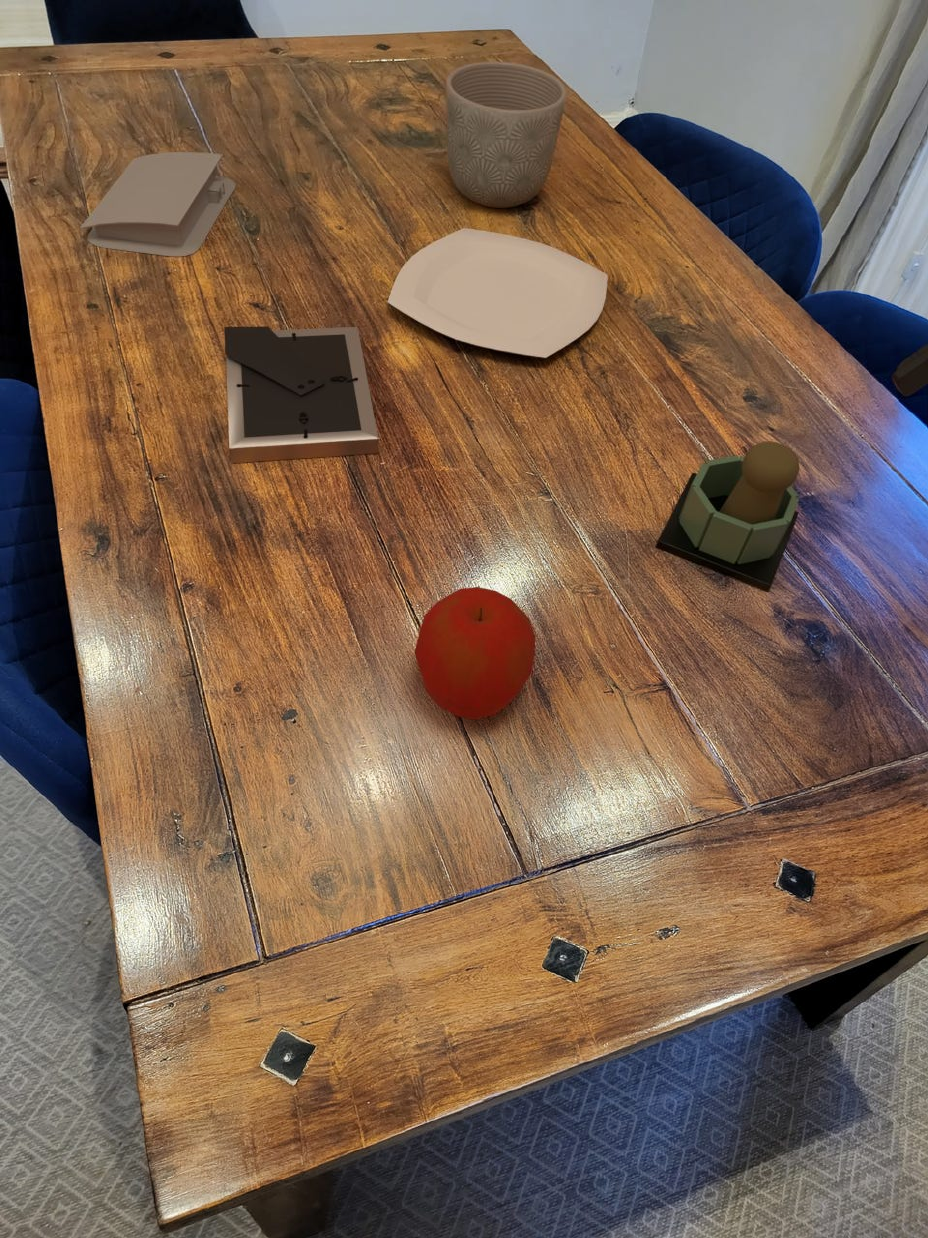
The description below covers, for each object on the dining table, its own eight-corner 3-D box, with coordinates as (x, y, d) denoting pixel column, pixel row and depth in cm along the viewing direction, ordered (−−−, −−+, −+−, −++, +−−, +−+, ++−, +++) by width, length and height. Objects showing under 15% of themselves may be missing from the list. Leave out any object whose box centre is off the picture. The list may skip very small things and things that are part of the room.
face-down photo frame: (227, 347, 106) (231, 463, 93) (224, 326, 103) (228, 442, 91) (358, 341, 108) (378, 453, 96) (357, 321, 106) (378, 433, 94)
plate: (454, 227, 127) (455, 214, 125) (628, 284, 121) (631, 270, 119) (360, 317, 111) (359, 304, 110) (554, 387, 105) (557, 374, 104)
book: (240, 179, 131) (236, 152, 128) (192, 259, 117) (187, 231, 114) (139, 166, 131) (133, 138, 128) (79, 244, 117) (71, 215, 114)
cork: (707, 546, 90) (741, 465, 81) (714, 506, 93) (748, 425, 85) (766, 561, 89) (807, 481, 80) (770, 521, 92) (810, 441, 84)
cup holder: (795, 518, 94) (817, 477, 90) (768, 592, 88) (789, 552, 83) (690, 478, 97) (706, 436, 92) (655, 547, 90) (670, 505, 86)
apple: (517, 747, 75) (536, 670, 65) (402, 724, 75) (404, 645, 66) (532, 653, 81) (551, 570, 72) (425, 632, 81) (431, 548, 72)
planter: (417, 186, 134) (421, 76, 122) (497, 157, 141) (507, 51, 130) (494, 233, 127) (506, 122, 115) (573, 200, 134) (592, 93, 123)
